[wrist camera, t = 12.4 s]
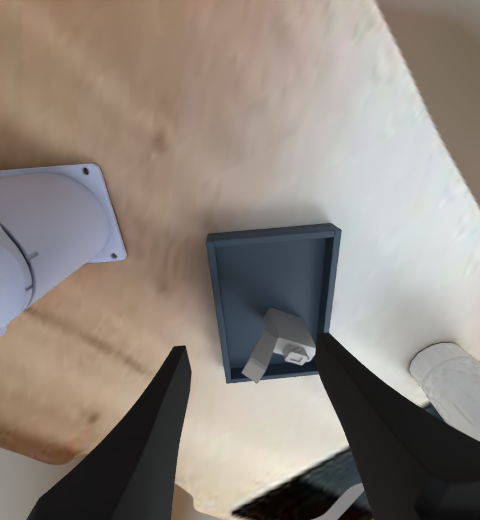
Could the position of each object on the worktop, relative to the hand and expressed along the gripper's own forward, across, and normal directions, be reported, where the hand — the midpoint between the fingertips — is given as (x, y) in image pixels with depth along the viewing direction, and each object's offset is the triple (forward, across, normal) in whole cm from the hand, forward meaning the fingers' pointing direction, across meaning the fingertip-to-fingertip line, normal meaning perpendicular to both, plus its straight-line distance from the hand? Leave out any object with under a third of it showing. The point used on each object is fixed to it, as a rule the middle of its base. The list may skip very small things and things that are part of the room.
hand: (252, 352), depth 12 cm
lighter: (+10, -3, +6) cm, 12 cm away
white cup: (+11, -24, +16) cm, 31 cm away
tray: (+10, -3, +5) cm, 12 cm away
